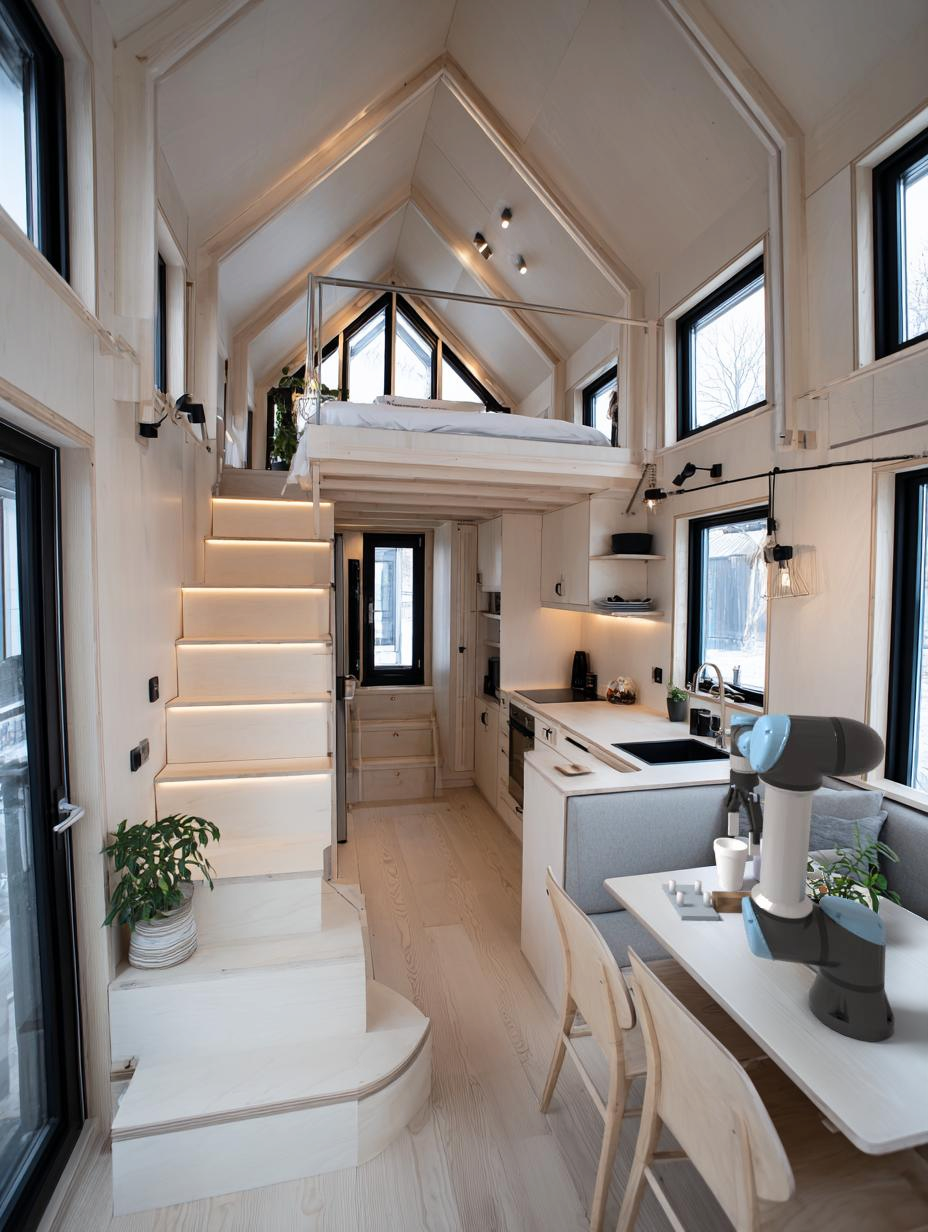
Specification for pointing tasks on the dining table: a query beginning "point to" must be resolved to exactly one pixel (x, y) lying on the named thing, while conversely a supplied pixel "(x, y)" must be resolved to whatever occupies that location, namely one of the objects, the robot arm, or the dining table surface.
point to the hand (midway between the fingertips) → (743, 844)
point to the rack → (690, 901)
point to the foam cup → (730, 862)
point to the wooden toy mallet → (728, 901)
